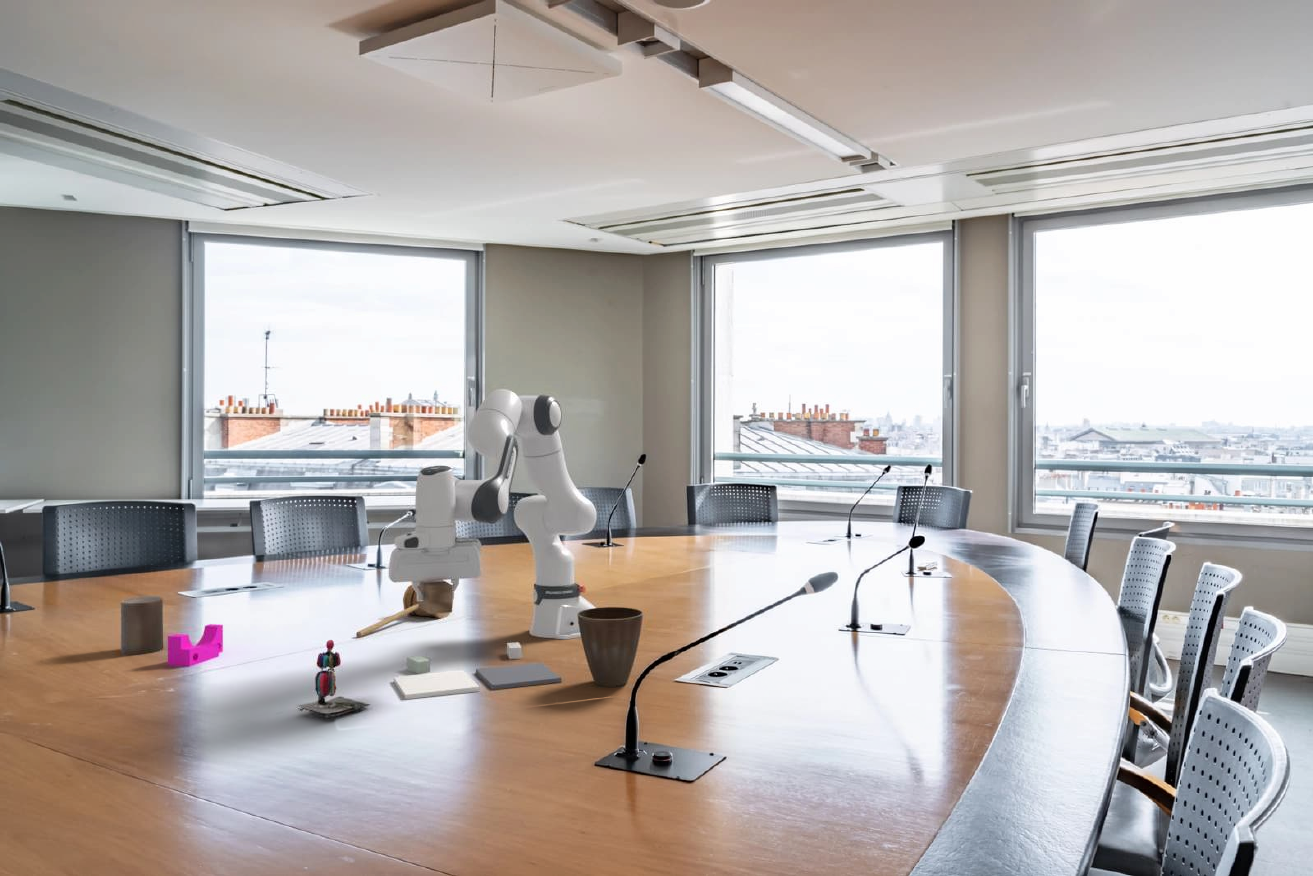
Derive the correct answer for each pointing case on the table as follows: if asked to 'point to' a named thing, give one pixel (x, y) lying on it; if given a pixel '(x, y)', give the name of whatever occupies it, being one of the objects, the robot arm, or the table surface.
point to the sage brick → (418, 664)
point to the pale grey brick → (514, 650)
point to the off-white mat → (435, 684)
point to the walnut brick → (436, 596)
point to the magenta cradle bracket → (195, 647)
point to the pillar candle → (141, 625)
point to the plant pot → (610, 642)
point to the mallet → (404, 611)
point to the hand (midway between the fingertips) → (435, 600)
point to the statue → (330, 688)
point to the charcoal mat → (517, 675)
